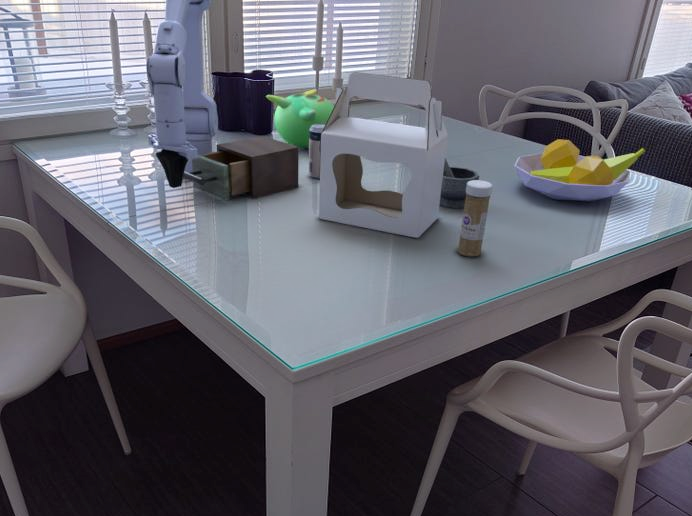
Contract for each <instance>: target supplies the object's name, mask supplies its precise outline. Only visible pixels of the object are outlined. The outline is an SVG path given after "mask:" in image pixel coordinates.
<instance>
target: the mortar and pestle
mask: <svg viewBox="0 0 692 516" xmlns="http://www.w3.org/2000/svg"><path fill="white" fill-rule="evenodd" d="M479 178H480V175H479V173H478V171H475V170H473V169H470V168H467V167H461V166H460V167H459V166H450V164H449V163H448V160H447V159H446V157H445V163H444V171H443V179H442V187H441V195H440V203H439V205H440V206H443V207H445V208H451V209H458V208H459V209H460V208H461V209H463V208H464V207H465V201H466V187H467V183H468V182H469V181H472V180H480V179H479Z"/></svg>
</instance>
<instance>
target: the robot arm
mask: <svg viewBox="0 0 692 516" xmlns="http://www.w3.org/2000/svg"><path fill="white" fill-rule="evenodd" d="M211 3H212V0H165V9H164V21H162V22H160V23H159V24H158V26H157V29H156V36H155V41H154V48H153V52H152V54H151V56H147V59H146V77H147V82H148V84H149V92H150V94H151V96H152V98H153V109H154V120H155V121H154V122H155V130H156V133H153V134H148V135H147V138H148V145H149V146H152V147H153V148H154V149H156V150H160V151H156V153H155V157H156V158H157V160H158V161H159V163H160V165H161V166H162V169H163V171H164V174H165V177H166V180H167V183H168V186H169V187H170V188H172V189H177V188H180V187H182V184H183V179H184V178H183V174H184V171H186V172H188V173H190V172H193V168H192V159H197V158H198V156H197V154H198V155H201V156H203V154H207V153H212V152H213V137H215V136H216V135H217V134H218V130H219V115H218V110H217V109H218V108H217V104H216V103H217V102H216V101H215V99H213V97H211V96H209V94H207V93H206V92H205V91H204V89H205V87H204V86H205V85H204V84H205V83H204V57H203V56H204V51H203V50H204V49H203V16H204V12H205V11H208V10H209V9H210V8H211ZM195 106H196V107H195Z"/></svg>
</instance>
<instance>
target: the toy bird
mask: <svg viewBox="0 0 692 516" xmlns="http://www.w3.org/2000/svg"><path fill="white" fill-rule="evenodd" d="M317 91H318V89H311V90H307V91H303V92H298V93H294V94H291V95H289V96H287V97H283V96H278V95H273V94H267V95H266V96H265V98H266V99H267V100H269V101H270V102H272V103H273V104H275V105H277V106H276V109H275V111H274V117H273V122H274V127H275V130H276V131H277V133H278V135H279V136H280V138H282V139H283V141H285V142H286V143H287V144H290V145H293V146H297V147H299V148H304V149H309V130H310V128H311V126H312V125H313V124H325V125H326V123H327V120H328V118H329V116H330V114H331V112H332V110H333V108H334V106H335V105H334V104H333V103H332V102H331V101H329V100H328V99H327V98H325V97H324V96H322V95H318V94H316V92H317ZM337 120H338V119H337Z"/></svg>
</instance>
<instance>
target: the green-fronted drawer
mask: <svg viewBox="0 0 692 516" xmlns="http://www.w3.org/2000/svg"><path fill="white" fill-rule="evenodd" d="M197 156H198V158H197V159H192V168H193V172H190V173H188V172H186V171H184V174H183V179H184V180H187V181H189V182H192V183H193V188H195V189H197V190H199V191H202V192H203V193H207V194H209V195H212V196H214V197H216V198H218V199H220V200H223V201H228V200H230V196H236V195H237V196H238V195H242V194H241V193H245V192H249V191H251V183H250V160H249V159H246V158H243V157H240V156H238V155H235V154H232V153H229V152H226V151H223V150H222V151H217V150H216V151H212V153H207V154H203V156H201V155H198V154H197Z"/></svg>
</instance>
